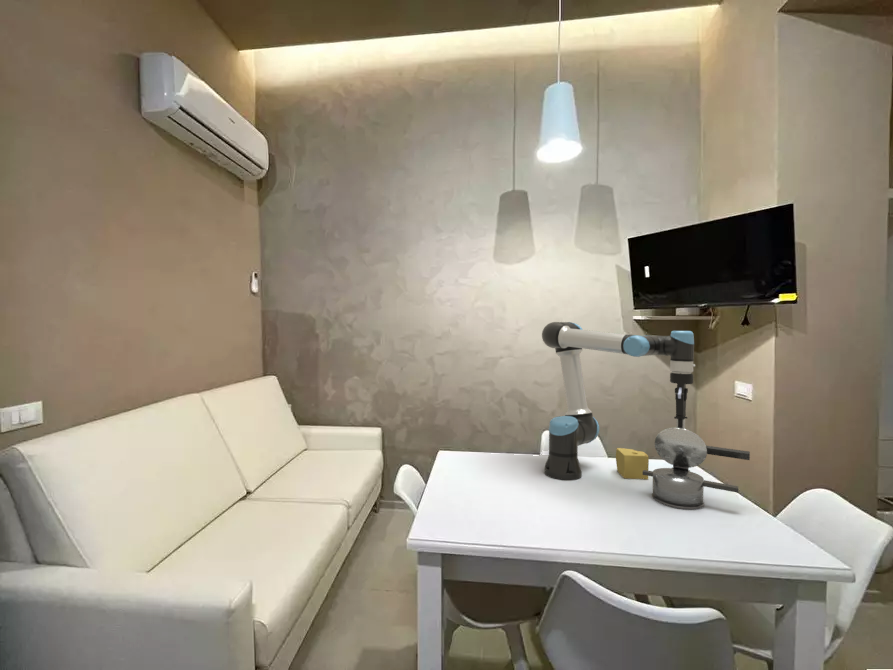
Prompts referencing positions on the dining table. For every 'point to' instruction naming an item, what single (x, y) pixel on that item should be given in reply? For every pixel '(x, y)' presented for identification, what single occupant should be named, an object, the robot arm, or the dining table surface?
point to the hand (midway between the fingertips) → (680, 436)
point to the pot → (681, 488)
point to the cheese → (631, 463)
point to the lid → (689, 448)
